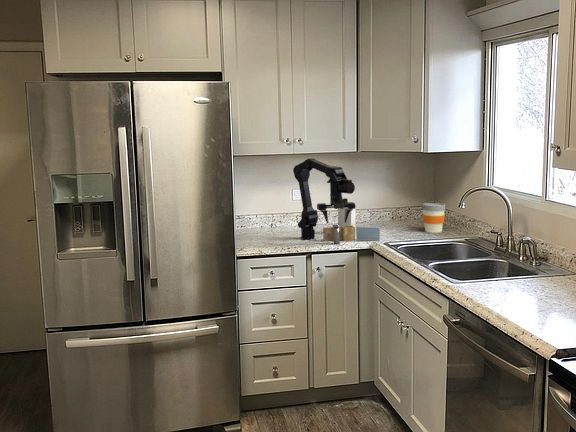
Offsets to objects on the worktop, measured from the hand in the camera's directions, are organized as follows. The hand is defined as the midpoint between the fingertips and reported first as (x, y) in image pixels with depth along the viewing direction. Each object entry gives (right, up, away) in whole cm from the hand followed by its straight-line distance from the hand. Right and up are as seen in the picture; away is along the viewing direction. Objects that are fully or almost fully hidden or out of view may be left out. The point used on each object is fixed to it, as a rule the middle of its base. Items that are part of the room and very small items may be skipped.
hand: (336, 223), depth 312 cm
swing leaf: (+17, -9, +8) cm, 21 cm away
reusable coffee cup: (+56, -5, +30) cm, 64 cm away
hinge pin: (0, -11, +1) cm, 11 cm away
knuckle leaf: (+2, -9, +11) cm, 14 cm away
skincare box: (+8, -7, +27) cm, 29 cm away
